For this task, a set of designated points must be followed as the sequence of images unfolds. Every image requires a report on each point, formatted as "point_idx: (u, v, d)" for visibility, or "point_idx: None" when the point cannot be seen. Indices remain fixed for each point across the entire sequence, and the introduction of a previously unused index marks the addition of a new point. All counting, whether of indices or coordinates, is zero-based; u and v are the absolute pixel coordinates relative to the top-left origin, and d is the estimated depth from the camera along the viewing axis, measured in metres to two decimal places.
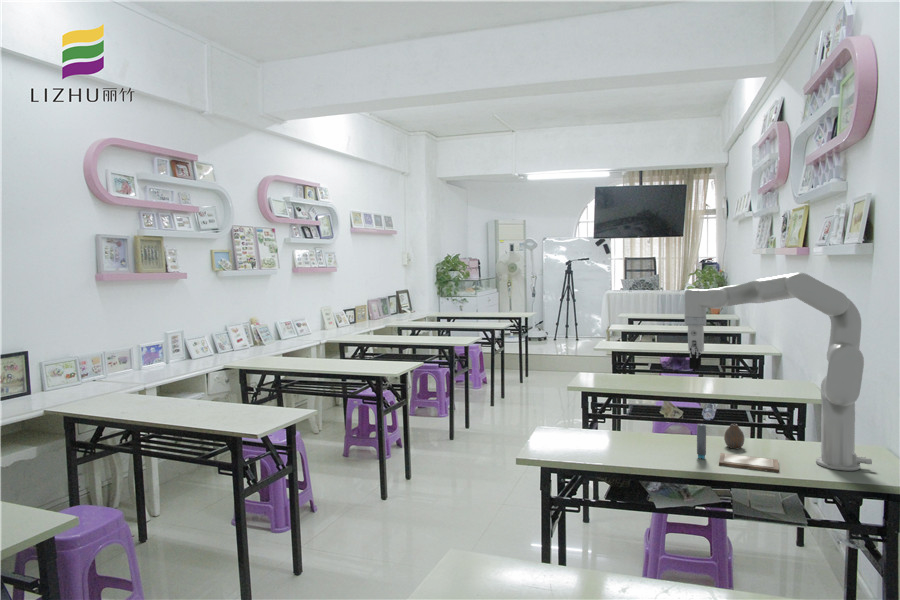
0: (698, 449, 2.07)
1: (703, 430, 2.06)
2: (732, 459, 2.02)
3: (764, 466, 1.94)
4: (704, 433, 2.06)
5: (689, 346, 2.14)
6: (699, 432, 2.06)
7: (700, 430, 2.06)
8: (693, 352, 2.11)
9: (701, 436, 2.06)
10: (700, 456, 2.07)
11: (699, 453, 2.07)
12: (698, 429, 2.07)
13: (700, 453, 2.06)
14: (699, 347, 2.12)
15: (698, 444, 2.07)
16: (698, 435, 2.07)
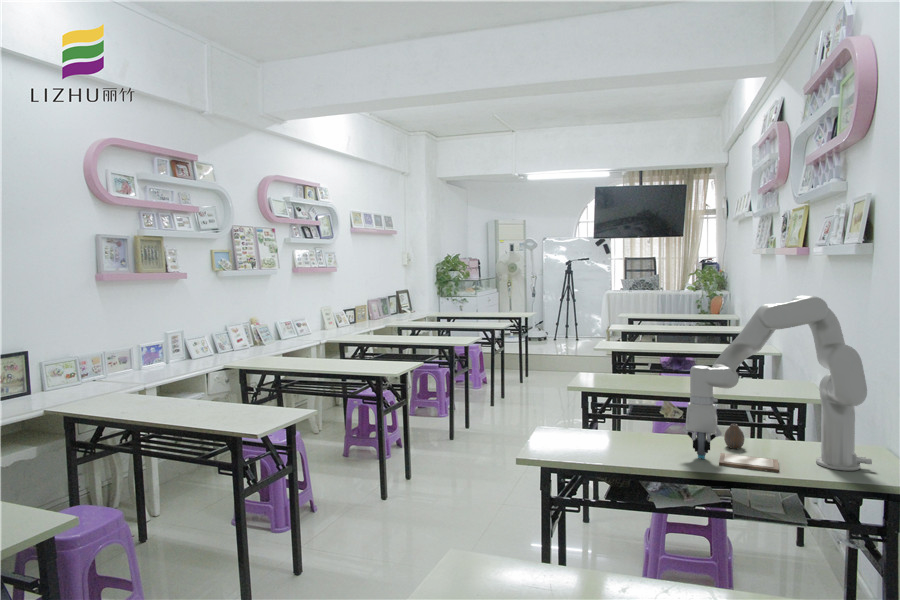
0: (698, 449, 2.07)
1: None
2: (732, 459, 2.02)
3: (764, 466, 1.94)
4: (704, 433, 2.06)
5: (713, 431, 2.04)
6: (699, 432, 2.06)
7: None
8: None
9: (701, 436, 2.06)
10: (700, 456, 2.07)
11: (699, 453, 2.07)
12: None
13: (700, 453, 2.06)
14: None
15: (698, 444, 2.07)
16: (698, 435, 2.07)
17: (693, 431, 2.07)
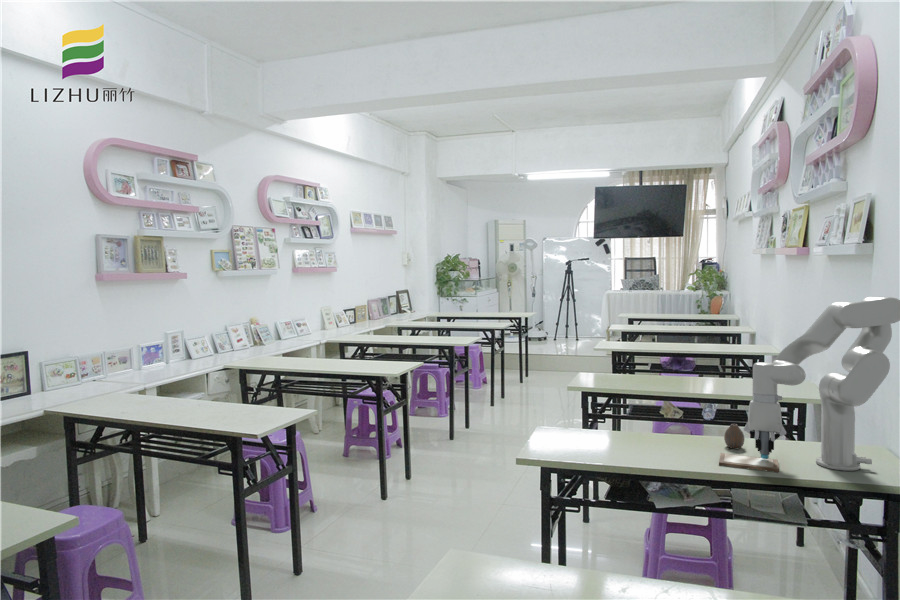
0: (761, 449, 2.00)
1: None
2: (732, 459, 2.02)
3: (764, 466, 1.94)
4: (768, 432, 1.99)
5: (778, 430, 1.97)
6: (762, 431, 2.00)
7: None
8: None
9: (765, 435, 1.99)
10: (763, 456, 2.00)
11: (762, 453, 2.00)
12: None
13: (763, 453, 2.00)
14: None
15: (761, 443, 2.00)
16: (761, 434, 2.00)
17: (756, 430, 2.00)
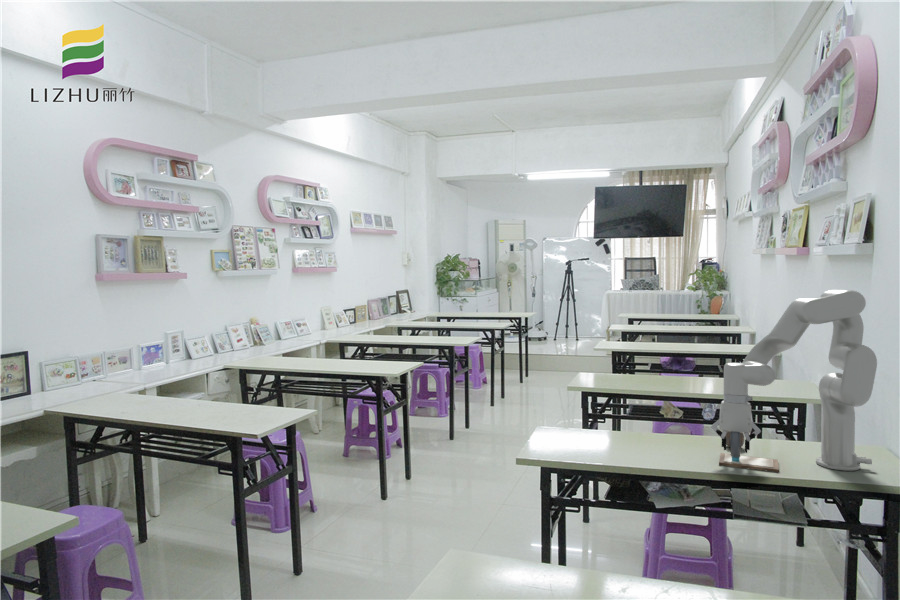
0: (732, 451, 2.00)
1: (737, 432, 1.99)
2: None
3: (764, 466, 1.94)
4: (738, 434, 1.99)
5: (750, 429, 1.97)
6: (733, 434, 1.99)
7: (733, 432, 1.99)
8: None
9: (735, 438, 1.99)
10: (734, 458, 2.00)
11: (733, 455, 2.00)
12: None
13: (734, 455, 1.99)
14: None
15: (732, 446, 2.00)
16: (732, 437, 2.00)
17: (727, 430, 2.00)
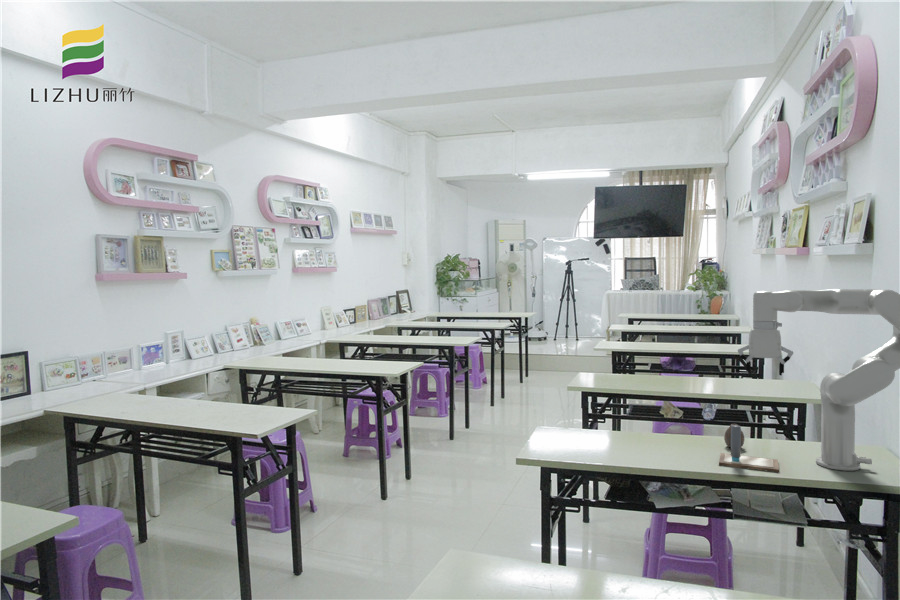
0: (732, 451, 2.00)
1: (737, 432, 1.99)
2: None
3: (764, 466, 1.94)
4: (739, 435, 1.99)
5: None
6: (733, 434, 1.99)
7: (734, 432, 1.99)
8: (790, 357, 2.02)
9: (736, 438, 1.99)
10: (734, 458, 2.00)
11: (733, 455, 2.00)
12: (732, 430, 2.00)
13: (734, 455, 1.99)
14: None
15: (732, 446, 2.00)
16: (732, 437, 2.00)
17: (756, 357, 2.05)
